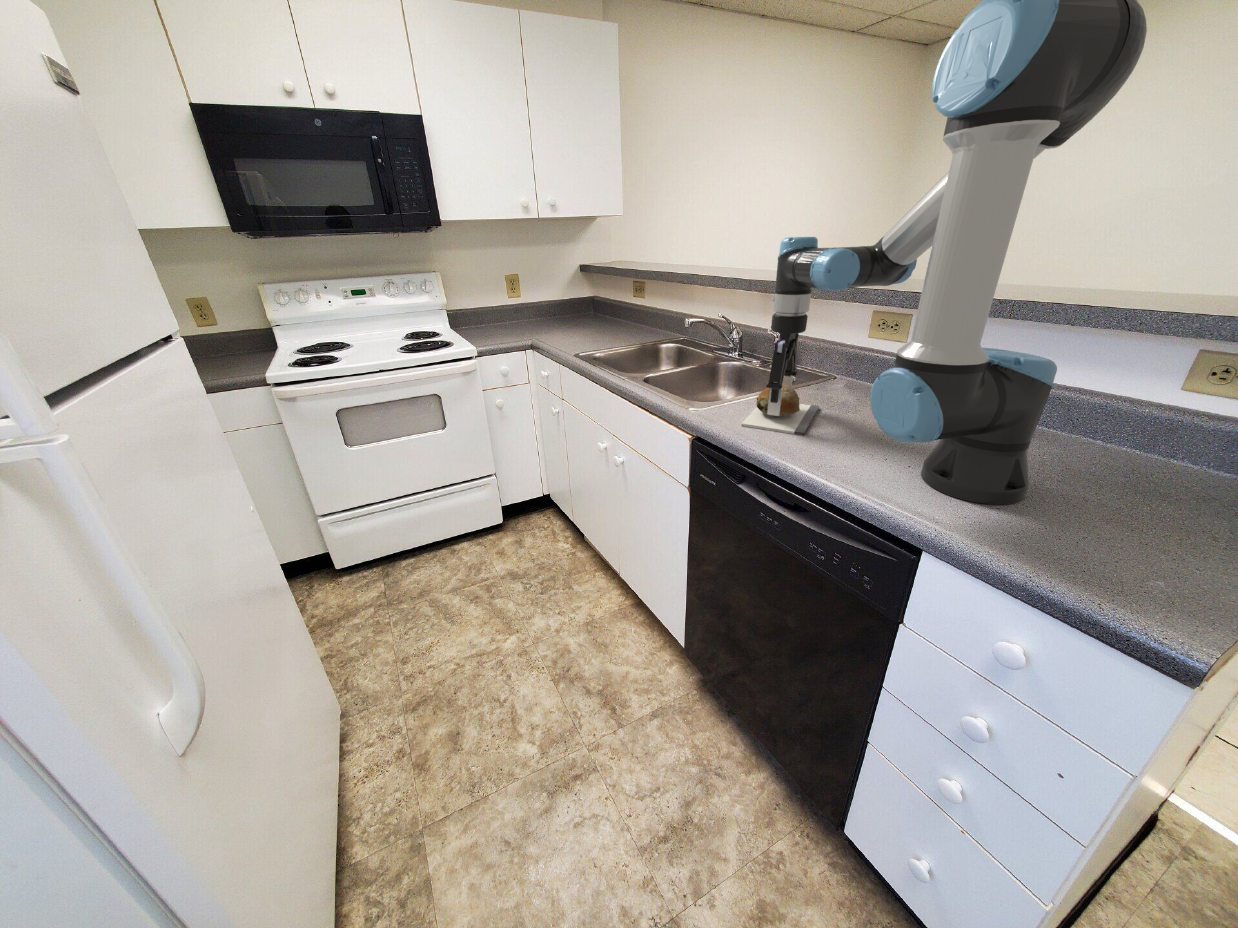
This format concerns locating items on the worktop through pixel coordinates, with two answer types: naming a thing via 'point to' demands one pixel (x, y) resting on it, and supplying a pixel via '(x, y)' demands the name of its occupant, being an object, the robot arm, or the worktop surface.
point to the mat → (783, 420)
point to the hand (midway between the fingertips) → (778, 407)
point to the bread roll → (787, 402)
